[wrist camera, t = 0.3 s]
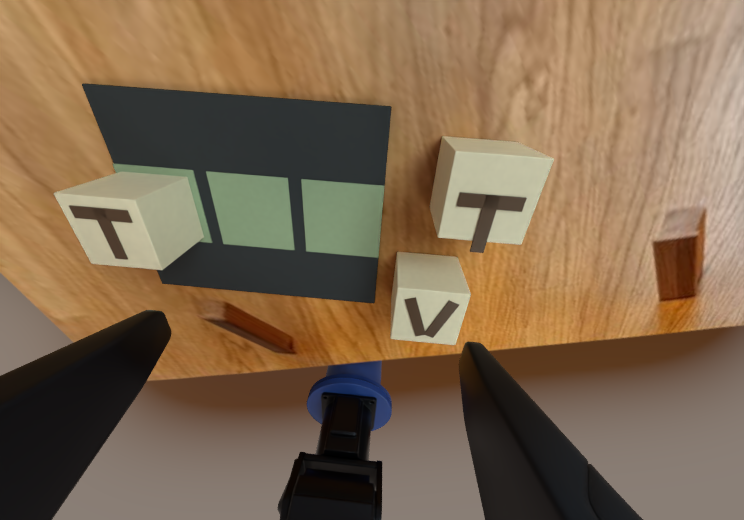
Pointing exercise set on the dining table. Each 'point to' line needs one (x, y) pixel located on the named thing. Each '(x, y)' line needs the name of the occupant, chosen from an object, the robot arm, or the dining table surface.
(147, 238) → the alphabet cube
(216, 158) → the word mat
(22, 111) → the dining table surface
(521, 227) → the letter t block
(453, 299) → the letter v block
